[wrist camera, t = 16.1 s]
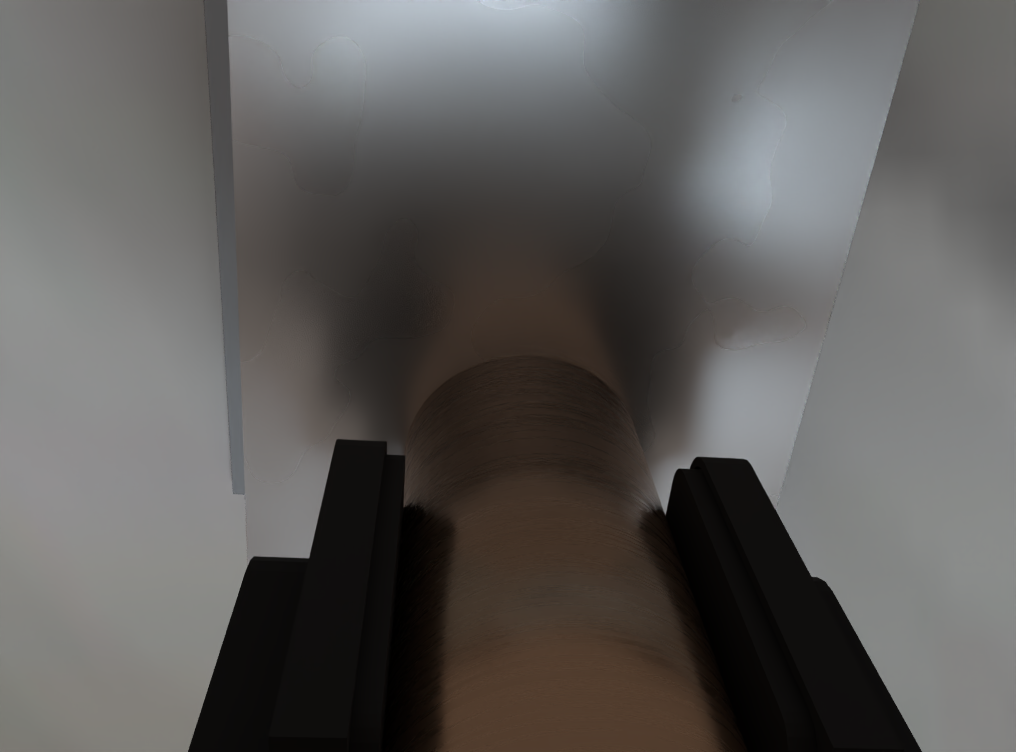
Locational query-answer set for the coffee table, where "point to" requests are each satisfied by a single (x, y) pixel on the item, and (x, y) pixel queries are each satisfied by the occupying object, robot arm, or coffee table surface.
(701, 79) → the trowel
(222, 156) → the mat
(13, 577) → the coffee table surface
